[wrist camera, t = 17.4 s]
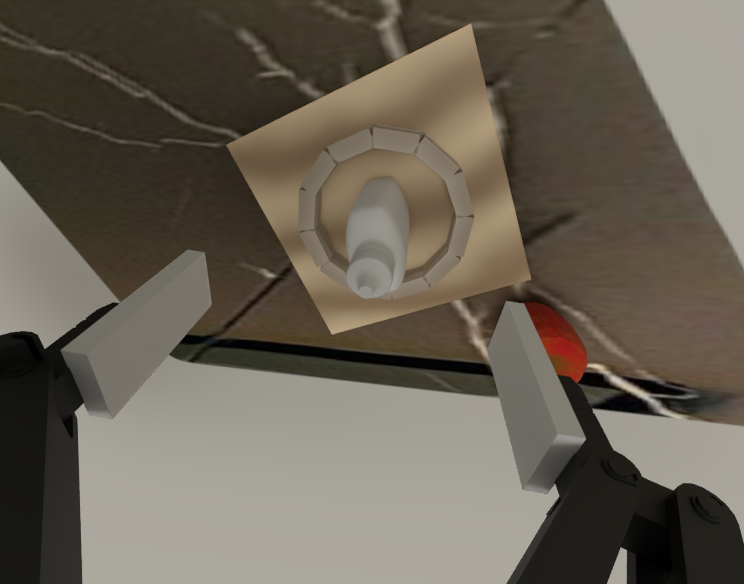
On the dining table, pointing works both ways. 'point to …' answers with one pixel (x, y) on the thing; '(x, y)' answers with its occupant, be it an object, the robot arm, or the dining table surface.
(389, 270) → the eye dropper bottle
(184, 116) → the dining table surface
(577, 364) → the apple
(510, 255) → the socket stand
